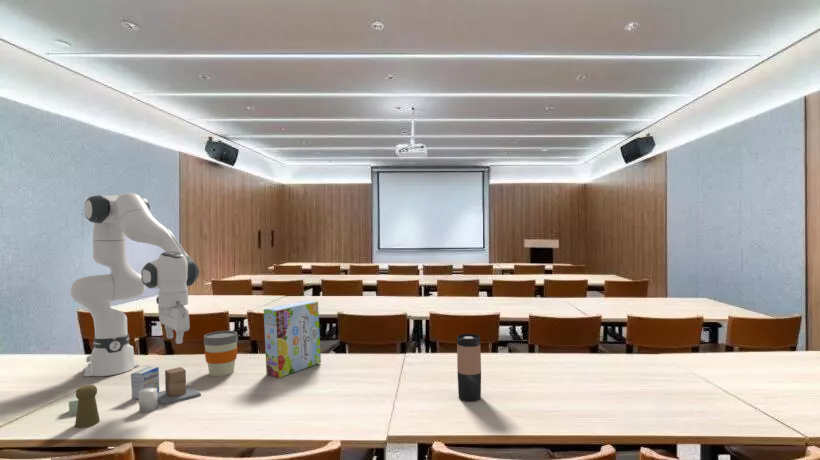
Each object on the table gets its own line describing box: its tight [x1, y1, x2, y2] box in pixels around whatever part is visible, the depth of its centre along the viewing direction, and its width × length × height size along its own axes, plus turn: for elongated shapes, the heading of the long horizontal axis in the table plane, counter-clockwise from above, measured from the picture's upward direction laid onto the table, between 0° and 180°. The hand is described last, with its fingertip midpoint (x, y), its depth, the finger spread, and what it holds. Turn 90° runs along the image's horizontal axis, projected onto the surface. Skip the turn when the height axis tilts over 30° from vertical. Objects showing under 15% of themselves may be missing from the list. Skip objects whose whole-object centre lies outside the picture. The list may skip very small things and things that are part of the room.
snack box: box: [263, 300, 322, 379], centre depth 186 cm, size 22×9×26 cm, turn 144°
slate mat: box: [157, 384, 202, 406], centre depth 159 cm, size 12×12×1 cm
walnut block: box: [164, 366, 187, 397], centre depth 159 cm, size 5×5×8 cm
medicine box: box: [130, 366, 160, 400], centre depth 161 cm, size 8×4×9 cm, turn 168°
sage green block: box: [68, 396, 78, 415], centre depth 148 cm, size 4×6×4 cm, turn 114°
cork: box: [74, 384, 101, 429], centre depth 138 cm, size 6×6×11 cm
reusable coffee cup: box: [203, 330, 239, 377], centre depth 184 cm, size 13×13×15 cm
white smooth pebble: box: [138, 388, 158, 414], centre depth 148 cm, size 5×5×6 cm
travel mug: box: [456, 333, 482, 403], centre depth 152 cm, size 8×8×20 cm
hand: (174, 340), depth 159 cm, fingers open, 8 cm apart
